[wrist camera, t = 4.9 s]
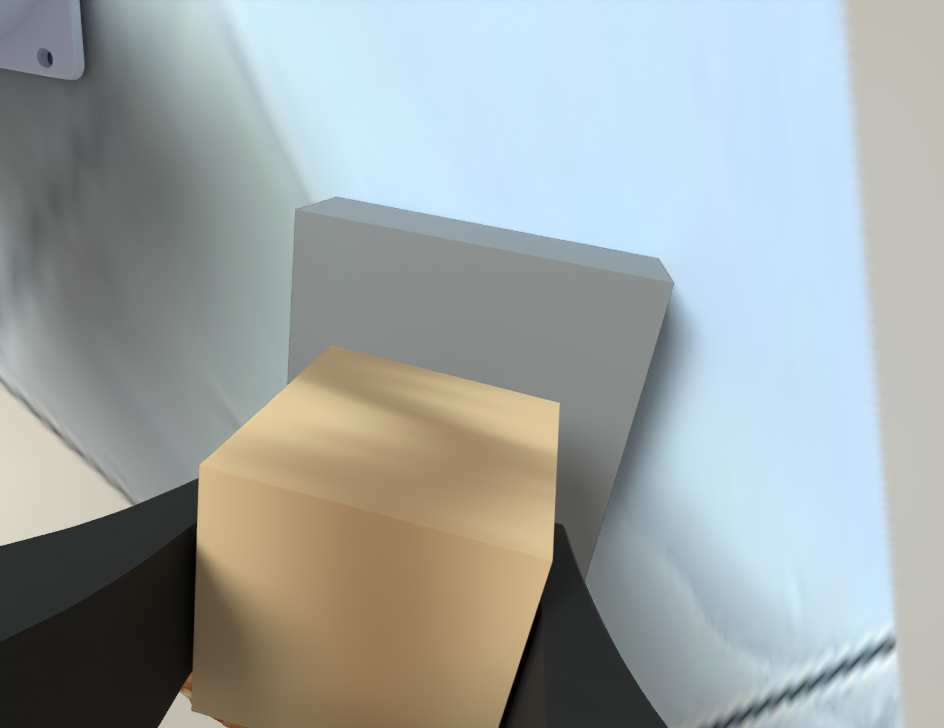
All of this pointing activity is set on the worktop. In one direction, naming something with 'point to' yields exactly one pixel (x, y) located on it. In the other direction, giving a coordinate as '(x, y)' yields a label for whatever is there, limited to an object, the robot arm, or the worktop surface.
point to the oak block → (373, 550)
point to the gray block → (489, 324)
